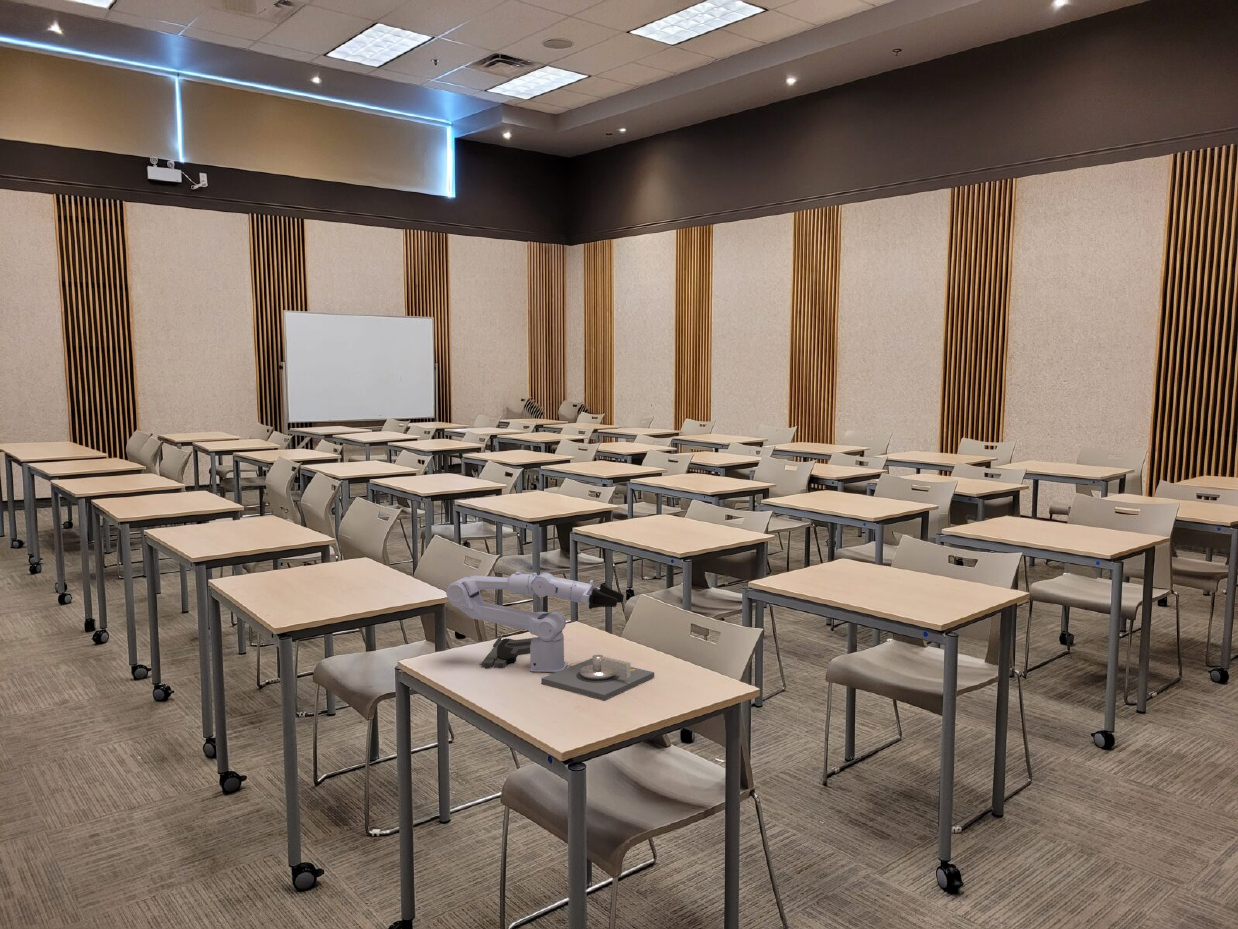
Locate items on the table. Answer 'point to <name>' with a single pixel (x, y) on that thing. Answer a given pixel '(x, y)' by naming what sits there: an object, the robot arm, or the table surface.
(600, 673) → the dial
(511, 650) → the pistol
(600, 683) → the dial plate
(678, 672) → the table surface
